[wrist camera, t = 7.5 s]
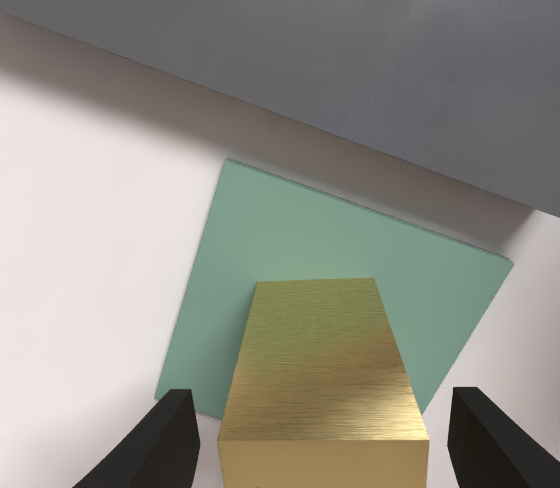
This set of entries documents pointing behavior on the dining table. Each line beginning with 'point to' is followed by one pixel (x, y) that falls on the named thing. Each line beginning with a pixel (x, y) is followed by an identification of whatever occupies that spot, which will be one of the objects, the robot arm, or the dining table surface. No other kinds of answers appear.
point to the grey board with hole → (363, 72)
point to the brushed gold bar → (321, 393)
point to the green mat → (322, 265)
